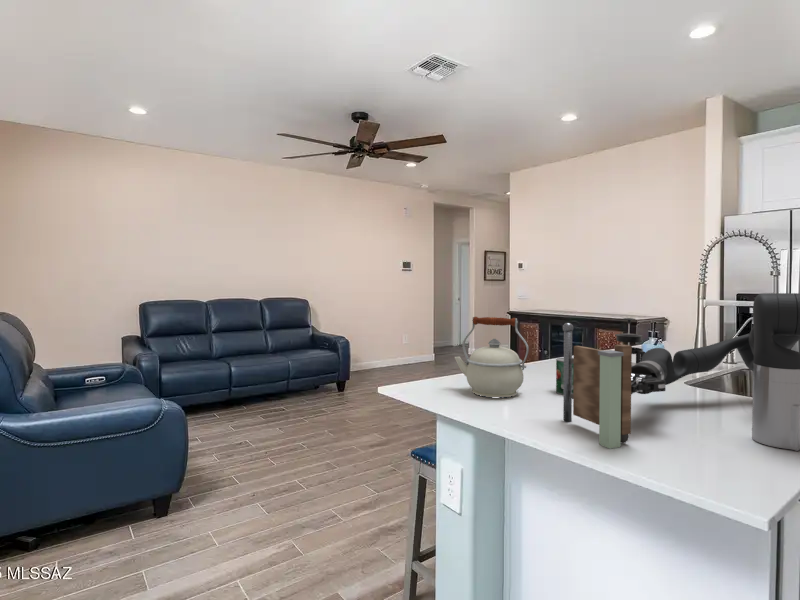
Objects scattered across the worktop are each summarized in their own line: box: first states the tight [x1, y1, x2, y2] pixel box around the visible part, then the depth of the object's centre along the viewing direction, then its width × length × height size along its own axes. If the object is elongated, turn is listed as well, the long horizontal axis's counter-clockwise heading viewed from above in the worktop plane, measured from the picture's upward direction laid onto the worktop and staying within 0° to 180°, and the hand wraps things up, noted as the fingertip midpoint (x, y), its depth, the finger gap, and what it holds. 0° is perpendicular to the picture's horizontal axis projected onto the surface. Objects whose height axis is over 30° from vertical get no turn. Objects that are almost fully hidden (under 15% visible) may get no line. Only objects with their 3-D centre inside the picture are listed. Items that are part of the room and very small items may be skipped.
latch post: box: [598, 349, 624, 450], centre depth 99 cm, size 4×4×21 cm
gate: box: [570, 344, 633, 444], centre depth 108 cm, size 18×3×22 cm, turn 19°
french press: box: [614, 317, 646, 367], centre depth 163 cm, size 12×9×23 cm
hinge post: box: [562, 322, 574, 423], centre depth 117 cm, size 3×3×26 cm
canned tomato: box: [555, 357, 574, 396], centre depth 147 cm, size 8×8×11 cm
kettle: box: [454, 316, 530, 398], centre depth 148 cm, size 25×18×25 cm
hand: (627, 389), depth 105 cm, fingers closed
